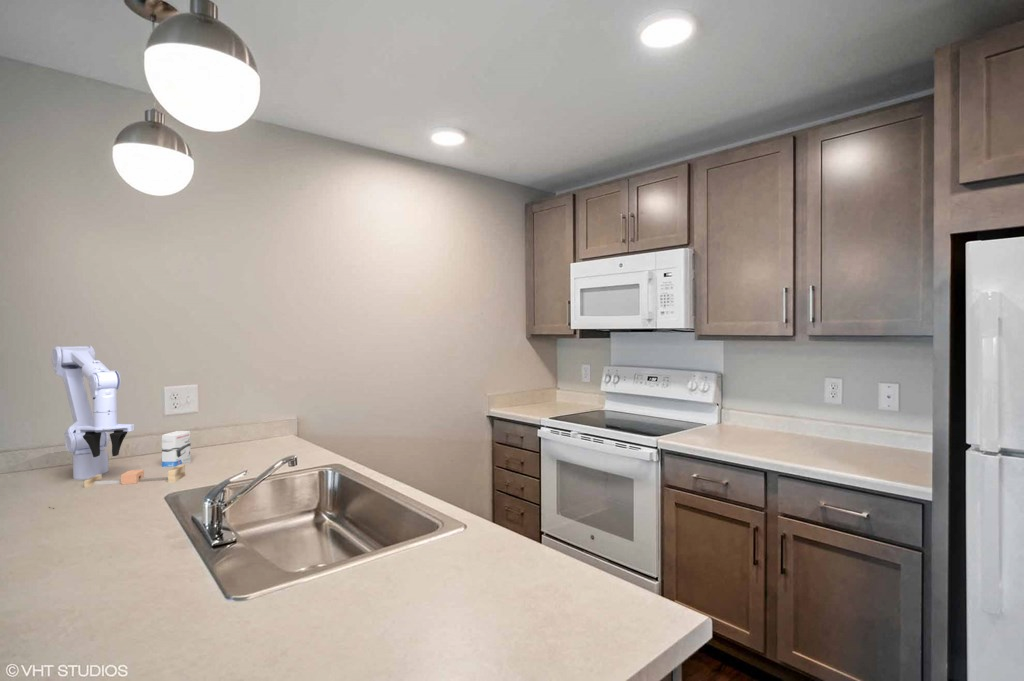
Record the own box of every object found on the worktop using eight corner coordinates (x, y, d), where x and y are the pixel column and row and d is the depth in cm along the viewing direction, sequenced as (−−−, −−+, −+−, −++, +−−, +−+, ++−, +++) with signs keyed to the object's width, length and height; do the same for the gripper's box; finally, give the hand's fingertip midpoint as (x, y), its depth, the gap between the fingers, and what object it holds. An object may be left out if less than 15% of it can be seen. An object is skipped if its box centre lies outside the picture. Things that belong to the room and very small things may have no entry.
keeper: (129, 479, 158) (129, 470, 158) (144, 478, 159) (143, 469, 159) (121, 484, 153) (121, 474, 153) (136, 483, 154) (136, 473, 154)
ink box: (175, 469, 173) (175, 435, 173) (161, 469, 173) (160, 435, 173) (191, 463, 181) (191, 430, 181) (177, 463, 182) (177, 430, 181)
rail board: (98, 484, 157) (97, 469, 157) (184, 479, 162) (184, 465, 162) (84, 491, 150) (84, 476, 150) (175, 485, 155) (175, 471, 155)
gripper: (68, 414, 148) (69, 460, 149) (125, 412, 151) (126, 457, 152) (83, 410, 155) (84, 454, 156) (137, 408, 158) (138, 452, 159)
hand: (106, 455), depth 154 cm, fingers open, 4 cm apart
